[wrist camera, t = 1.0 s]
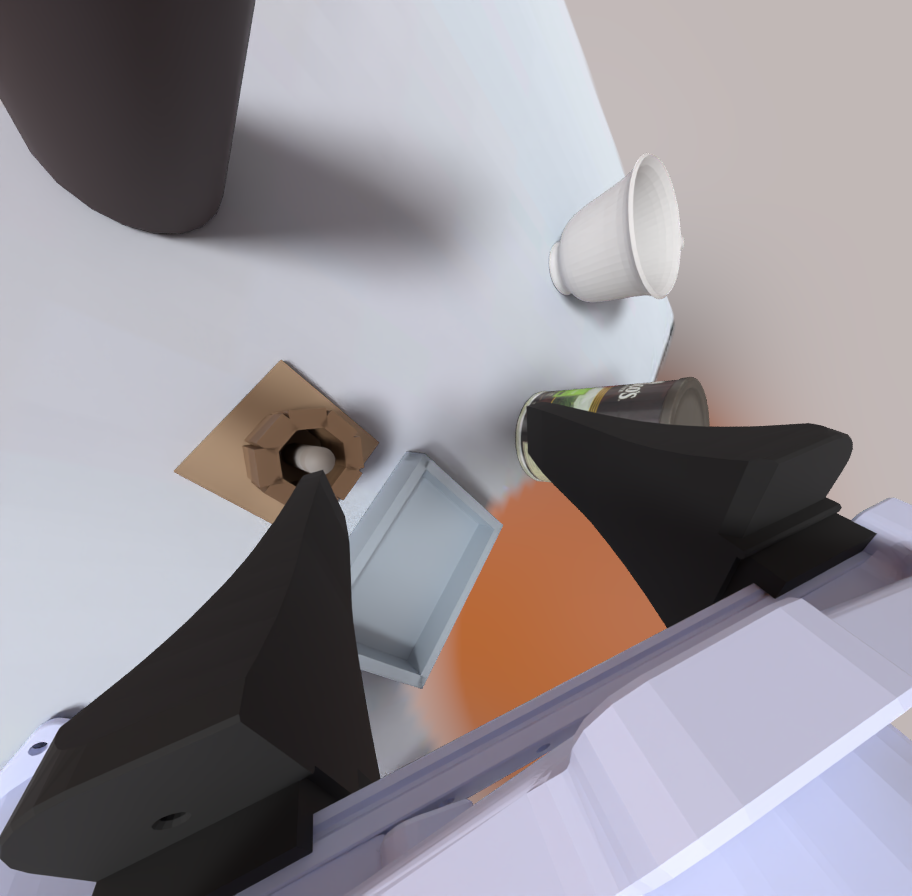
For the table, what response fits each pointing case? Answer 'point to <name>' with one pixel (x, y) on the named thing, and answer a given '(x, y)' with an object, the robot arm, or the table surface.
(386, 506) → the tray
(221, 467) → the post stand
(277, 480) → the collar
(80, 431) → the table surface
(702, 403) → the coffee can
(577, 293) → the teacup
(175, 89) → the vinegar
